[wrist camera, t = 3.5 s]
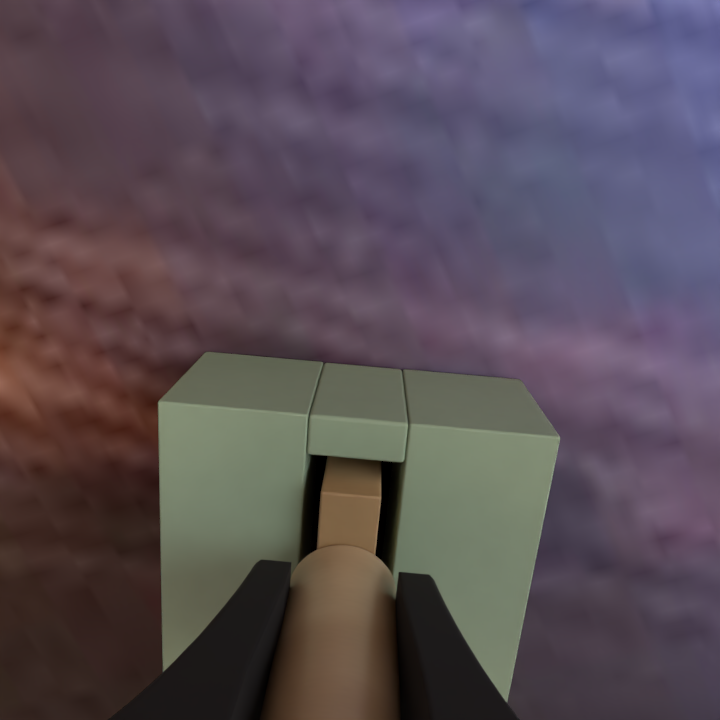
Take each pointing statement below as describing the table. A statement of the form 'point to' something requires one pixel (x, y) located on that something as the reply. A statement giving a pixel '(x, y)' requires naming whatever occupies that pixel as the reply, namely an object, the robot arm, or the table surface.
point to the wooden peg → (339, 612)
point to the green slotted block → (360, 441)
